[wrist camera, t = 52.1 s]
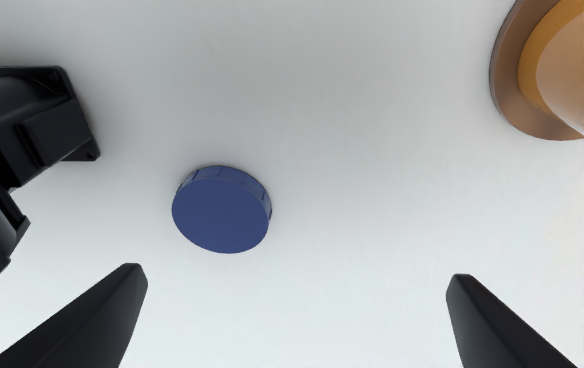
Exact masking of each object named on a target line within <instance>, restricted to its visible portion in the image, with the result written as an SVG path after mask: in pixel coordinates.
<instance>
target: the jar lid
mask: <svg viewBox="0 0 584 368" xmlns="http://www.w3.org/2000/svg"><path fill="white" fill-rule="evenodd" d="M176 193H177V194H176V195H175V197H174V200H173V203H172V216H173V219H174V222H175V224H176V226H177V228H178V229H179V230H180V232H181V233H182V234H183V235H184V236H185V237H186V238H187V239H188V240H190V241H191V242H192V243H194V244H196V245H197V246H199V247H201V248H204V249H206V250H209V251H213V252H217V253H226V254H231V253H240V252H244V251H247V250H249V249H251V248H253V247H255V246H256V245H258V244H259V243H260V242H261V241H262V240H263V238H264V237H265V235H266V233H267V230H268V225H269V220H270V218H271V213H272V209H271V204H270V200H269V197H268V195H267V193H266V190H265V189H264V188H263V187H262V186H261V184H260V183H259V182H258V181H256V180H255V179H254V178H253V177H251V176H250V175H248V174H246V173H244V172H242V171H240V170H237V169H234V168H230V167H223V166H213V167H207V168H203V169H200V170H197V171H196V172H194V173H193V174H191V175H190V176H189V177H188V178H187V179H186V180H185V182H184V183H182V184H181V186H180V187H179V189H178V190H177V192H176Z"/></svg>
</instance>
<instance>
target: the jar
mask: <svg viewBox="0 0 584 368" xmlns="http://www.w3.org/2000/svg"><path fill="white" fill-rule="evenodd" d="M517 79H518V85H519V88H520V91H521V93H522V95H523V97H524V98H525V99H526V101H527V102H528V103H529V104H531V105H532V106H533V107H535V108H537V109H539V110H540V111H542V112H544V113H546V114H547V115H549V116H551V117H553V118H554V119H556V120H558V121H560V122H561V123H563V124H565V125H567V126H568V127H570V128H572V129H574V130H575V131H577V132H579V133H581V134H582V135H584V0H560V1H559V2H558V3H557V4H556V5H555V6H554V7H552V8H551V9H550V10H549V11H548V12H547V13H546V15H545V16H544V17H543V18H542V19H541V20H540V21H539V23H538V24H537V25H536V26H535V28H534V29H533V31H532V32H531V34H530V35H529V37H528V39H527V41H526V43H525V45H524V47H523V50H522V52H521V55H520V59H519V62H518V69H517Z"/></svg>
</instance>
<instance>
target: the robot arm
mask: <svg viewBox="0 0 584 368" xmlns="http://www.w3.org/2000/svg"><path fill="white" fill-rule="evenodd" d="M54 72H55V73H56V74H57V75H58V77H56V75H55V73H54ZM89 152H90V153H91V154H92V155H91V154H90V153H89ZM99 157H100V153H99V150H98V148H97V146H96V143H95V141H94V139H93V136H92V134H91V131H90V129H89V127H88V124H87V122H86V120H85V117H84V115H83V113H82V110H81V108H80V105H79V103H78V101H77V98H76V96H75V94H74V91H73V89H72V87H71V84H70V82H69V79H68V77H67V75H66V73H65V71H64V70H63V69H62V68H60V67H58V66H0V273H1V272H2V271H3V270H4V269H5V268H6V267H7V266H8V265H9V263H10V262H11V259H10V258H9V257H10V255H11V254H12V252H13V251H14V249H15V248H16V246H17V244H18V243H19V241H20V240H21V238H22V237H23V235H24V233H25V232H26V230H27V229H28V227H29V226H30V224H31V223H30V221H29V219H28V218H27V216H26V215H23V214H22V212H21V211H20V209H19V208H18V206H17V205H16V203H15V202H14V200H13V199H12V197H11V196H10V193H12V192H13V191H14V190H16V189H17V188H20V187H22V186H24V185H25V184H26V183H28V182H29V181H31V180H32V179H33V178H35V177H36V176H38V175H39V174H41V173H42V172H43V171H45V170H46V169H48V168H50V167H52V166H53V165H55V164H56V163H58V162H59V161H95V160H96V159H98V158H99ZM147 288H148V281H147V278H146V276H145V274H144V272H143V269H142V267H141V265H140V264H138V263H125V264H123V265H121V266H120V267H118V268H117V269H116V270H114V271H113V272H111V273H110V274H109V275H107V276H106V277H105V278H103V279H102V280H101V281H99V282H98V283H96V284H95V285H94V286H92V287H91V288H90V289H88V290H87V291H86V292H84V293H83V294H81V295H80V296H79V297H77V298H76V299H75V300H73V301H72V302H70V303H69V304H68V305H66V306H65V307H64V308H62V309H61V310H60V311H58V312H57V313H55V314H54V315H53V316H51V317H50V318H49V319H47V320H46V321H45V322H43V323H42V324H40V325H39V326H38V327H36V328H35V329H34V330H32V331H31V332H30V333H28V334H27V335H25V336H24V337H23V338H21V339H20V340H19V341H17V342H16V343H14V344H13V345H12V346H10V347H9V348H8V349H6V350H5V351H4V352H2V353H1V354H0V368H118V367H119V365H120V362H121V360H122V358H123V356H124V353H125V351H126V349H127V347H128V344H129V342H130V339H131V337H132V334H133V331H134V328H135V325H136V322H137V319H138V316H139V313H140V310H141V307H142V304H143V301H144V298H145V295H146V292H147ZM446 302H447V306H448V310H449V314H450V319H451V323H452V327H453V331H454V335H455V339H456V343H457V347H458V351H459V355H460V358H461V361H462V364H463V367H464V368H577V367H576V366H575V365H574V364H573V363H572V362H571V361H569V360H568V359H567V358H566V357H565V356H564V355H563V354H561V353H560V352H559V351H558V350H557V349H556V348H554V347H553V346H552V345H551V344H550V343H549V342H548V341H546V340H545V339H544V338H543V337H542V336H541V335H540V334H538V333H537V332H536V331H535V330H534V329H533V328H532V327H530V326H529V325H528V324H527V323H526V322H525V321H524V320H522V319H521V318H520V317H519V316H518V315H517V314H516V313H514V312H513V311H512V310H511V309H510V308H509V307H507V306H506V305H505V304H504V303H503V302H502V301H501V300H499V299H498V298H497V297H496V296H495V295H494V294H493V293H491V292H490V291H489V290H488V289H487V288H486V287H485V286H483V285H482V284H481V283H480V282H479V281H478V280H477V279H475V278H474V277H473V276H471V275H469V274H454V275H453V277H452V279H451V281H450V284H449V286H448V289H447V291H446Z"/></svg>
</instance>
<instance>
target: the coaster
mask: <svg viewBox="0 0 584 368" xmlns="http://www.w3.org/2000/svg"><path fill="white" fill-rule="evenodd" d="M559 1H560V0H517V2H516V3H515V5H514V6H513V8H512V9H511V11H510V13H509V14H508V16H507V18H506V20H505V22H504V24H503V26H502V28H501V30H500V32H499V35H498V37H497V40H496V43H495V46H494V49H493V53H492V57H491V64H490V88H491V94H492V97H493V100H494V103H495V105H496V107H497V109H498V110H499V112H500V114H501V115H502V116H503V117H504V118H505V119H506V120H507V121H508V122H509V123H510V124H512V125H513V126H514V127H516V128H517V129H518V130H520V131H522V132H524V133H526V134H528V135H531V136H533V137H536V138H541V139H546V140H558V141H563V140H576V139H583V138H584V135H582V134H581V133H579V132H577V131H575V130H574V129H572V128H570V127H568V126H567V125H565V124H563V123H561V122H560V121H558V120H556V119H554V118H553V117H551V116H549V115H547V114H546V113H544V112H542V111H540V110H539V109H537V108H535V107H533V106H532V105H531V104H529V103H528V102H527V101H526V99H525V98H524V97H523V95H522V93H521V91H520V88H519V85H518V79H517V69H518V62H519V59H520V55H521V52H522V50H523V47H524V45H525V43H526V41H527V39H528V37H529V35H530V34H531V32H532V31H533V29H534V28H535V26H536V25H537V24H538V23H539V21H540V20H541V19H542V18H543V17H544V16H545V15H546V13H547V12H548V11H549V10H550V9H551V8H552V7H554V6H555V5H556V4H557V3H558V2H559Z"/></svg>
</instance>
